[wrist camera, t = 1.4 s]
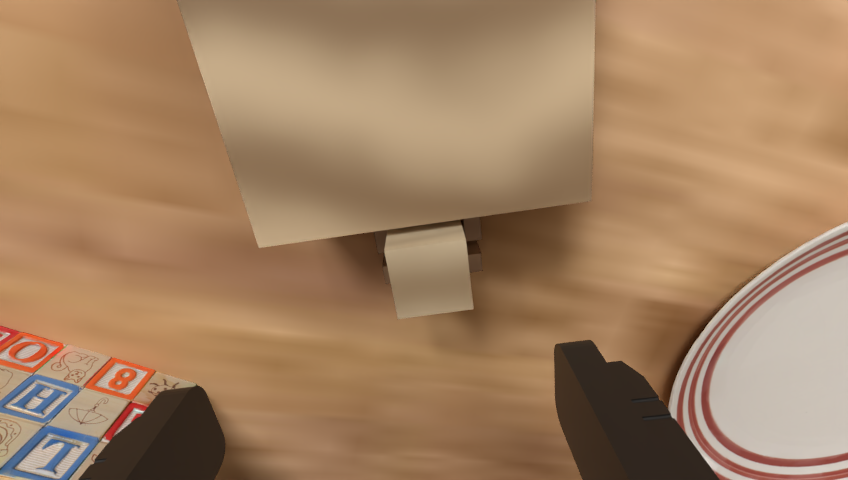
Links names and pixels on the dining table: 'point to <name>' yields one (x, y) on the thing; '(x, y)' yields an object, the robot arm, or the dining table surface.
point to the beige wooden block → (429, 269)
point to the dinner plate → (774, 372)
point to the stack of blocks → (65, 405)
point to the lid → (397, 108)
